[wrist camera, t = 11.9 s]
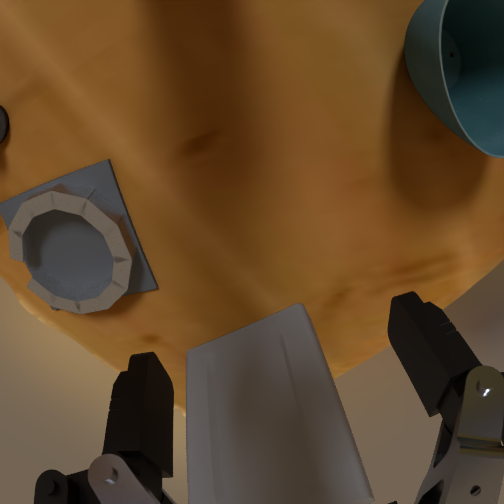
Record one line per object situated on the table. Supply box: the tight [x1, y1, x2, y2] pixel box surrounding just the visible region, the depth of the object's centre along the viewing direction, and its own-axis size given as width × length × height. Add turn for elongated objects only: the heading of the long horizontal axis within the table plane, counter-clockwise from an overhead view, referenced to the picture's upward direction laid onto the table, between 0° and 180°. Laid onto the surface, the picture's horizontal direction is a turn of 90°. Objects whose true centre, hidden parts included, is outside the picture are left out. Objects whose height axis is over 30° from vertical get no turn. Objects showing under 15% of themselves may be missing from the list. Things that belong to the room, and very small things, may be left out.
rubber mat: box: [0, 159, 158, 310], centre depth 35 cm, size 17×17×1 cm
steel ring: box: [9, 181, 137, 314], centre depth 33 cm, size 16×16×3 cm
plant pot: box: [404, 0, 504, 158], centre depth 23 cm, size 18×18×12 cm
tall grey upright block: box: [186, 303, 375, 504], centre depth 37 cm, size 19×15×28 cm
